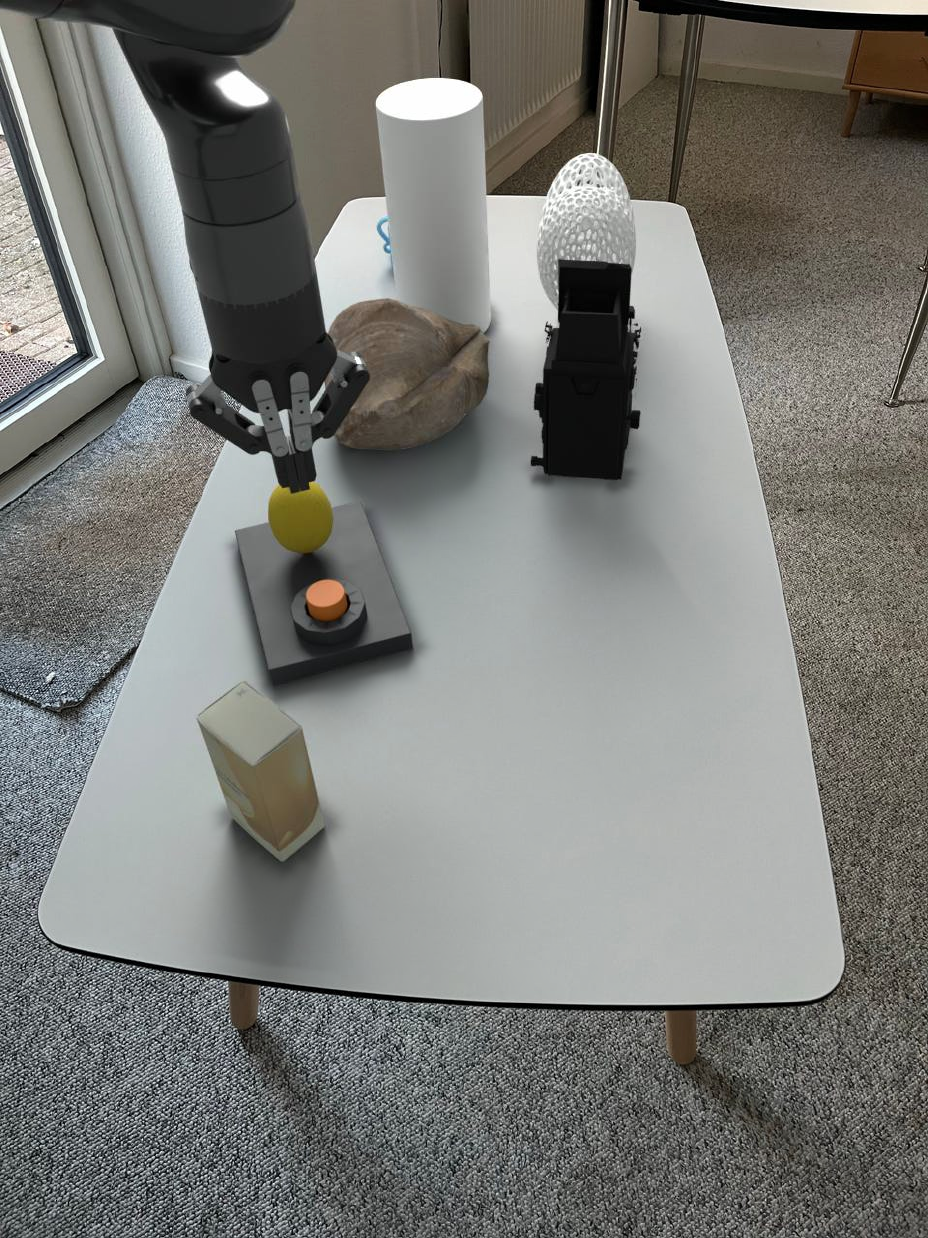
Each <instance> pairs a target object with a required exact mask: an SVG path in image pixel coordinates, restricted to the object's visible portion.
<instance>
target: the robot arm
mask: <svg viewBox="0 0 928 1238" xmlns="http://www.w3.org/2000/svg"><path fill="white" fill-rule="evenodd" d="M296 1H297V0H0V13H6V14H11V15H15V16H16V15H17V16H21V17H27V18H32V19H37V20H44V21H51V22H62V23H63V22H65V23H75V24H85V25H95V26H100V27H106V28H110V29H112V32H113V34H114V37H115V39H116V41H117V43H118V45H119V47H120V50H121V51H122V55H123V57H124V58H125V60H126V63H127V64H128V66H129V69H130V71H131V73H132V75H133V76H134V79H135V81H136V84H137V86H138V88H139V90H140V91H141V94H142V96H143V99H144V101H145V102H146V105H147V106H148V108H149V109H150V112H151V113H152V115H153V117H154V119H155V120H156V123H157V124H158V126H159V128H160V130H161V132H162V135H163V137H164V140H165V144H166V150H167V154H168V159H169V162H170V168H171V171H172V175H173V179H174V184H175V187H176V191H177V196H178V200H179V203H180V207H181V213H182V218H183V228H184V229H183V230H184V239H185V245H186V250H187V254H188V261H189V262H188V263H189V267H190V268H189V269H190V271H191V273H192V275H193V279H194V282H195V286H196V290H197V295H198V298H199V303H200V306H201V311H202V315H203V318H204V323H205V327H206V331H207V334H208V339H209V343H210V347H211V356H210V358H209V361H208V370H209V373H210V374H209V375H208V376H207V377H206V378H205V379H204V380H203V381H202V382H201V383H200V384H199V385H198V384H191V385H189V386H188V387H187V388H186V389H185V397H186V402H187V405H188V410H189V415H190V416H191V418H193V419H194V420H196V421H197V422H199V423H200V424H202V425H203V426H205V427H206V428H208V429H210V430H211V431H213V432H214V433H215V434H217V435H219V436H220V437H222V438H223V439H225V440H226V441H228V442H229V443H231V444H233V445H235V446H236V447H237V448H239V449H240V450H241V451H244V453H246V454H248V455H252V456H255V455H258V454H259V453H261V452H264V453H268V454H269V455H271V459H272V464H273V469H274V473H275V477H276V479H277V483H278V485H280V486H281V487H282V488H287V487H289V489H290V493H291V494H293V493H297V492H300V491H306V490H310V486H309V482H315V481H316V479H317V476H318V474H317V469H316V464H315V459H314V458H315V457H314V454H313V453H314V452H313V445H314V444H315V442H317V441H318V440H320V439H321V438H322V439H324V440H328V439H331V438H333V437H335V435H334V434H335V433H336V431H337V430H338V428H339V427H340V425H341V424H342V422H343V420H344V419H345V417H346V416H347V414H348V413H349V411H350V410H351V408H352V406H353V405H354V403H355V402H356V400H357V399H358V397H359V396H360V394H361V392H362V391H363V389H364V388H365V386H366V385H367V383H368V381H369V380H370V374H369V372H368V369H367V366H366V364H365V362H364V360H363V358H362V356H361V354H360V353H358V352H351V353H349V354H346V353H344V352H342V351H339V350H337V349H336V347H335V345H334V342H333V340H332V338H331V337H330V336H329V334H328V332H327V329H326V323H325V315H324V309H323V305H322V304H323V303H322V299H321V298H322V297H321V293H320V292H321V291H320V284H319V279H318V271H317V266H316V259H315V254H314V253H315V252H314V247H313V246H314V245H313V242H312V234H311V229H310V225H309V224H310V223H309V220H308V218H307V214H306V210H305V207H304V204H303V201H302V196H301V191H300V186H299V179H298V173H297V166H296V161H295V160H296V159H295V153H294V149H293V143H292V136H291V131H290V126H289V121H288V117H287V114H286V112H285V109H284V107H283V104H282V102H281V101H280V99H279V98H278V97H277V96H276V95H275V93H273V92H272V91H271V90H269V89H268V88H267V87H265V86H264V85H263V84H261V83H260V82H258V81H256V80H255V78H253V77H252V76H251V75H250V74H248V73H247V71H245V69H244V68H243V67H242V66H241V64H240V63H239V61H238V59H239V58H245V57H249V56H252V55H255V54H257V53H259V52H261V51H263V50H265V49H266V48H268V47H269V46H271V45H272V44H273V43H274V42H275V41H276V40H277V39H278V38H279V37H280V36H281V34H282V33H283V32H284V31H285V29H286V27H287V26H288V24H289V23H290V20H291V19H292V16H293V14H294V13H293V12H294V10H295V6H296ZM331 369H332V370H331ZM330 371H331V376H332V380H331V382H330V383H329V385H328V386H327V388H326V390H325V389H324V391H323V392H322V394H321V396H320V398H319V399H318V400H317V402H316V404H315V406H314V407H313V409H312V411H311V402H312V401H313V400H314V399H315V398H316V397H317V395H318V393H319V391H320V390H321V388H322V386H323V385H324V384H325V383H324V381H325V379H326V378H327V376H328V374H329V372H330ZM222 391H223V392H224V393H225V394H226V395H228V396H229V397H231V398H232V399H234V400H235V401H236V402H237V403H238V404H240V405H242V407H244V408H246V409H247V410H248V411H250V412H252V413H255V414H259V415H260V418H261V422H262V424H263V425H257V424H256V423H255V422H254V421H252V420H251V419H249V418H248V417H246V416H245V415H243V414H242V413H240V412H239V411H237V410H236V409H235V408H233V407H232V406H231V405H229V404H227V402H226V398H225V394H224V393H223V392H222ZM285 410H286V411H287V419H288V428H289V435H288V436H286V434H285V430H284V427H283V423H282V420H281V416H280V412H282V411H285ZM299 487H300V488H299Z"/></svg>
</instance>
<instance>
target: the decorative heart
mask: <svg viewBox="0 0 928 1238" xmlns="http://www.w3.org/2000/svg"><path fill="white" fill-rule="evenodd" d="M597 173H598V174H597ZM588 182H589V183H588ZM578 183H579V184H578ZM598 186H599V187H598ZM577 203H579V204H577ZM587 203H589V204H587ZM592 210H593V211H592ZM583 211H584V212H583ZM599 215H600V216H601V217H599ZM606 216H607V217H606ZM572 224H573V225H574V226H572ZM603 225H605V226H603ZM636 232H637V231H636V223H635V215H634V209H633V204H632V201H631V197H630V193H629V191H628V188H627V185H626V182H625V181H624V178H623V177H622V175H621V173H620V172H619V170H618V168H616V166H615V165H614V164H613V163H612V162H611V161H610V160H609V159H608V158H606V157H605V156H603V155H601V154H599V153H594V152H586V153H583V154H582V153H581V154H579V155H577V156H574V157H573V158H571V159H570V160H569V161H568V162H567V163H565V165H563V167H561V169H560V170H559V172H558V173H557V175H556V176H555V178H554V179H553V181H552V183H551V185H550V188H549V189H548V192H547V194H546V197H545V200H544V203H543V208H542V211H541V214H540V219H539V225H538V231H537V241H536V262H537V270H538V274H539V279H540V280H539V281H540V284H541V285H542V288H543V291H544V293H545V295H546V296H547V299H548V300H549V302H550V303H551V304H552V306H553V307H554V309H556V310H557V311H558V259H562V260H580V261H605V262H609V263H619V264H630V266H631V268H632V274H633V271H634V267H635V262H636V253H637V234H636ZM573 235H574V237H573V238H572V236H573ZM609 235H610V238H609ZM603 241H604V243H603ZM573 246H575V249H574V250H573ZM561 251H562V253H563V255H562V253H561ZM599 252H600V254H599ZM613 255H614V256H615V260H614V258H613ZM555 268H556V269H555ZM632 274H631V276H632ZM555 282H556V283H555Z"/></svg>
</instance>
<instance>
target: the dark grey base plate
mask: <svg viewBox="0 0 928 1238" xmlns="http://www.w3.org/2000/svg"><path fill="white" fill-rule="evenodd" d="M331 508H332V513H333V527H332V532H331V535H330V536H329V538H328V540H327V541H326V543H325V544H324V545H323V546H322V547H320V548H319V549H317V550H315V551H313V552H310V553H295V552H292V551H290V550H288V549H286V548H284V547H283V546H282V545H281V544H280V543H279V542H278V541H277V540H276V538H275V537H274V535H273V533H272V530H271V527H270V524H269V521H268V522H264V523H260V524H255V525H251V526H248V527H243V528H239V529H235V530H234V533H235V539H236V542H237V547H238V550H239V555H240V559H241V563H242V567H243V572H244V575H245V580H246V585H247V588H248V593H249V596H250V601H251V604H252V609H253V613H254V618H255V622H256V626H257V629H258V633H259V638H260V641H261V645H262V650H263V654H264V658H265V662H266V667H267V671H268V674H269V679H270V681H271V684H272V685H274V686H275V685H278V684H282V683H286V682H289V681H290V682H291V681H294V680H297V679H301V678H304V677H308V676H312V675H316V674H320V673H324V672H327V671H328V672H329V671H331V670H335V669H339V668H343V667H347V666H349V665H354V664H358V663H362V662H365V661H370V660H372V659H377V658H381V657H385V656H388V655H392V654H396V653H400V652H404V651H408V650H412V649H414V644H413V643H414V642H413V637H412V636H413V635H412V631H411V629H410V626H409V623H408V621H407V618H406V616H405V613H404V610H403V608H402V604H401V601H400V600H399V597H398V595H397V592H396V589H395V586H394V584H393V581H392V578H391V577H390V574H389V571H388V568H387V565H386V563H385V560H384V557H383V554H382V553H381V549H380V547H379V544H378V541H377V539H376V536H375V533H374V530H373V528H372V526H371V523H370V520H369V518H368V515H367V512H366V509H365V507H364V505H363V501H362V500H357V501H356V500H355V501H352V502H349V503H344V504H340V505H336V506H331ZM322 580H334V581H337V582H339V583H340V584H341V585H342V586H343V587H344V590H345V595H346V601H347V609H346V611H345V613H344V614H343V615H342V616H341V617H339V618H338V619H335V620H332V621H319V620H316V619H315V618H313V617H312V616H311V614H310V612H309V609H308V604H307V600H306V592H307V590H308V589H309V587H310V586H311V585H313V584H314V583H316V582H318V581H322Z"/></svg>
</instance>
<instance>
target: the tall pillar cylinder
mask: <svg viewBox="0 0 928 1238" xmlns="http://www.w3.org/2000/svg"><path fill="white" fill-rule="evenodd" d="M375 111H376V121H377V130H378V139H379V148H380V157H381V166H382V167H381V168H382V177H383V186H384V194H385V196H384V197H385V205H386V214H387V215H386V216H388V222H387V225H388V224H389V233H390V242H391V252H392V261H393V270H392V271H393V279H394V287H395V289H394V290H395V296H396V297H395V299H396V300H397V301H400V302H402V303H404V304H407V305H409V306H412V307H418V308H423V309H426V310H429V311H431V312H433V313H436V314H437V315H439V316H442V317H444V318H446V319H449V320H451V321H454V322H458V323H460V324H464V325H469V324H473V325H476V326H479V327H480V330H481V331H482V332H483V334H484V333H485V332H486V331H487V330H488V329H489V327H490V326H491V322H492V309H491V307H492V306H491V283H490V281H491V280H490V279H491V277H490V253H489V229H488V228H489V226H488V203H487V202H488V199H487V198H488V197H487V175H486V174H487V173H486V172H487V171H486V149H485V148H486V147H485V146H486V145H485V122H484V121H485V120H484V118H485V117H484V97H483V93H482V91H481V90H480V89H479V88H478V87H477V86H476V85H474V84H472V83H469V82H467V81H463V80H460V79H455V78H454V79H453V78H445V77H444V78H443V77H431V78H429V77H428V78H420V79H414V80H409V81H404V82H401V83H397V84H395V85H393V86H391V87H388V88H387V89H385V90H384V91H383V92H381V93H380V94H379V95H378V97H377V98H376V100H375Z"/></svg>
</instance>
